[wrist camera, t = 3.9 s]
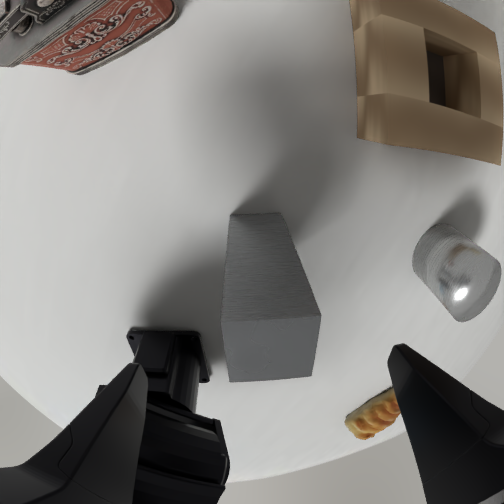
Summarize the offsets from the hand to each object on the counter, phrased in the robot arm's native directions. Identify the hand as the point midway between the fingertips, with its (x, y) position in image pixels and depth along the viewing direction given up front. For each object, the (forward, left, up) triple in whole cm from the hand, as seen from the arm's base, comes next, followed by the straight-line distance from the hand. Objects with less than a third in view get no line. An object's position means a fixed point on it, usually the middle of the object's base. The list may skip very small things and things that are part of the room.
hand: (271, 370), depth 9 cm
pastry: (-25, -15, -11) cm, 31 cm away
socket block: (+12, -12, -11) cm, 20 cm away
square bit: (0, 0, -11) cm, 11 cm away
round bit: (-2, -15, -11) cm, 19 cm away
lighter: (+15, +8, -11) cm, 20 cm away
